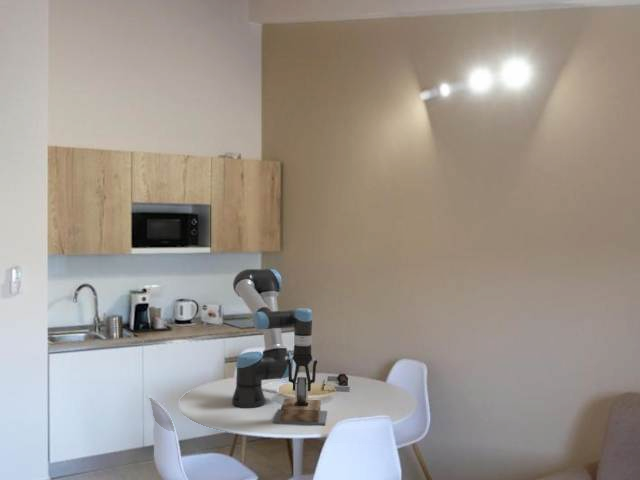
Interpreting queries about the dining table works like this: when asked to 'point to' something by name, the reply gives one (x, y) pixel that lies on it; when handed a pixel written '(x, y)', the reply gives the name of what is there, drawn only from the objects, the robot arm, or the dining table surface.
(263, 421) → the dining table surface
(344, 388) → the parts tray
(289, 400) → the socket
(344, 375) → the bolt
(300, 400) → the peg
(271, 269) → the robot arm
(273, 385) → the calculator
